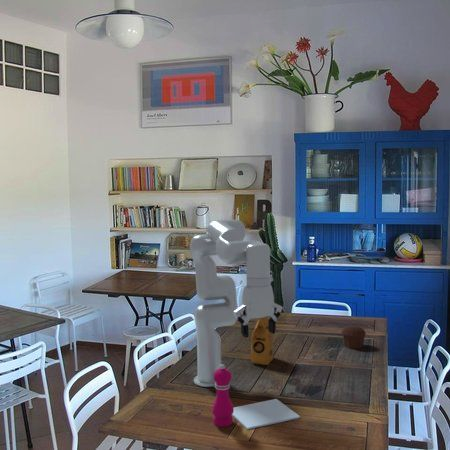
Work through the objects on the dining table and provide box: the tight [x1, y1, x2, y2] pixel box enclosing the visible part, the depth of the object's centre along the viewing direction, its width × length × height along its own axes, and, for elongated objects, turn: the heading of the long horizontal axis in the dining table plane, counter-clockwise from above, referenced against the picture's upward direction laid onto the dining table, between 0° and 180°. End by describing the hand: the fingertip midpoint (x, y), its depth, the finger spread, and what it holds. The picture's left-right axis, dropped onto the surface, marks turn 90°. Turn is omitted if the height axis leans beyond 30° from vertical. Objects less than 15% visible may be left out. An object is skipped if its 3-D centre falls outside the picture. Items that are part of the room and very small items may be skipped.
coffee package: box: [250, 317, 274, 366], centre depth 236 cm, size 10×12×22 cm
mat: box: [231, 398, 301, 430], centre depth 182 cm, size 16×20×1 cm
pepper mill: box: [211, 363, 234, 428], centre depth 175 cm, size 7×7×20 cm
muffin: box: [340, 324, 366, 350], centre depth 256 cm, size 12×11×10 cm
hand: (258, 334), depth 169 cm, fingers open, 9 cm apart
